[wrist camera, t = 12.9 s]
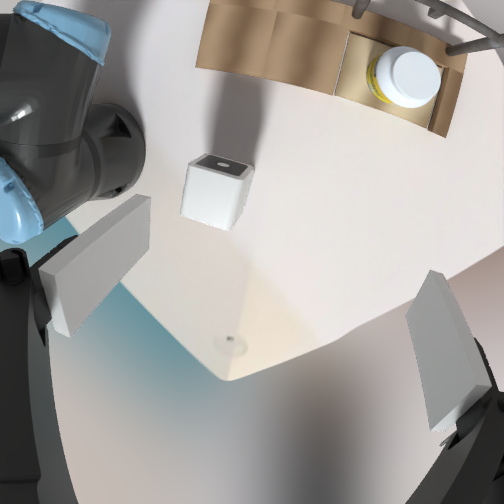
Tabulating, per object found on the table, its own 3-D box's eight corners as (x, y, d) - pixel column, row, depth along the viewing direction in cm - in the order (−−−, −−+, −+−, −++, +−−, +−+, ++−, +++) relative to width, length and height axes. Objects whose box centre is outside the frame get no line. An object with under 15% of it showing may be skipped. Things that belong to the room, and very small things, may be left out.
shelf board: (200, 68, 35) (135, 61, 22) (219, -12, 29) (163, -56, 16) (440, 135, 33) (500, 165, 19) (461, 55, 27) (529, 45, 13)
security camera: (261, 159, 40) (243, 180, 32) (248, 206, 44) (228, 238, 35) (215, 146, 40) (186, 163, 32) (205, 193, 44) (176, 221, 35)
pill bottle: (371, 47, 30) (391, 29, 20) (420, 66, 29) (456, 59, 19) (359, 93, 33) (375, 94, 23) (407, 112, 33) (439, 121, 23)
